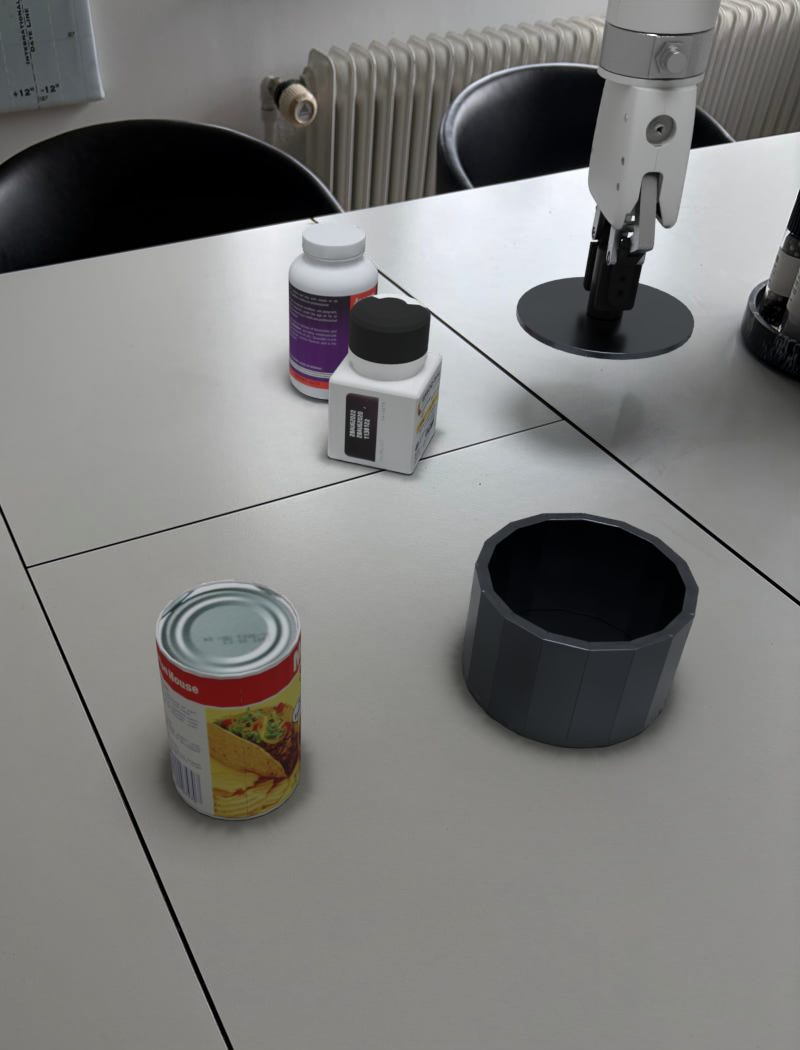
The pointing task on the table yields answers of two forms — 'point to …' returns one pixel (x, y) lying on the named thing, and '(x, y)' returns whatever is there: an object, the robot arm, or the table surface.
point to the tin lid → (603, 319)
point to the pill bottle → (325, 301)
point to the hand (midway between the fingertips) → (607, 297)
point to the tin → (576, 627)
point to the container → (385, 386)
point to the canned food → (232, 696)
